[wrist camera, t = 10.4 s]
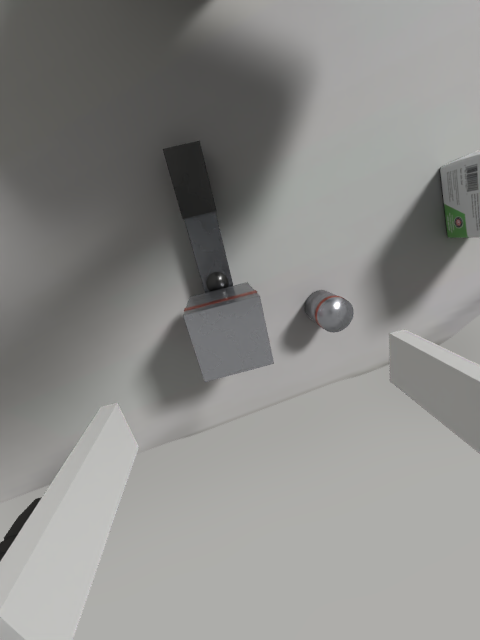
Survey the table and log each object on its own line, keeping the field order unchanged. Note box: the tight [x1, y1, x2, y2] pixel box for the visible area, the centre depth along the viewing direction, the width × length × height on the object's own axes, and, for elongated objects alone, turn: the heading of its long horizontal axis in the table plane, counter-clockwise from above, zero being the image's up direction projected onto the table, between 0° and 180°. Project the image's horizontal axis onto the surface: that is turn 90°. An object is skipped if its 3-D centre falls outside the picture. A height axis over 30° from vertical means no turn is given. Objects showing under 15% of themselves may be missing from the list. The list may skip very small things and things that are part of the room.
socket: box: [183, 283, 274, 382], centre depth 24 cm, size 6×6×7 cm
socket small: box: [305, 290, 353, 332], centre depth 29 cm, size 4×4×4 cm
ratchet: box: [163, 141, 233, 293], centre depth 25 cm, size 19×6×7 cm, turn 14°
